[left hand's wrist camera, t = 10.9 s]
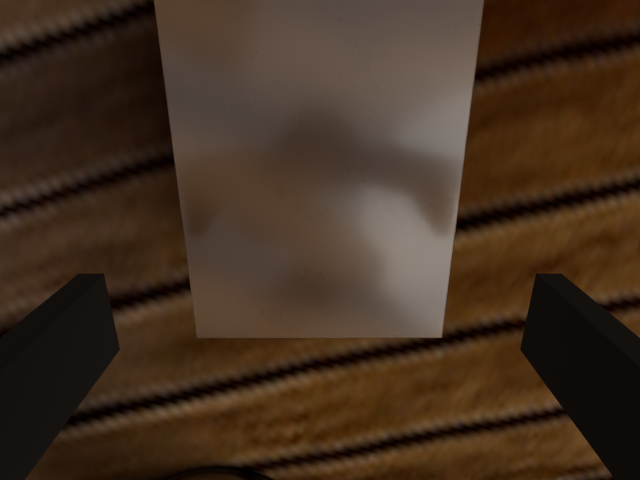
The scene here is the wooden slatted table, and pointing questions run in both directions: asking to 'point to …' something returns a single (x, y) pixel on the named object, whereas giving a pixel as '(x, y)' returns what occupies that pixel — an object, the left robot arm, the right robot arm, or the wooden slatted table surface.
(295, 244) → the cabinet
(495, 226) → the wooden slatted table surface
